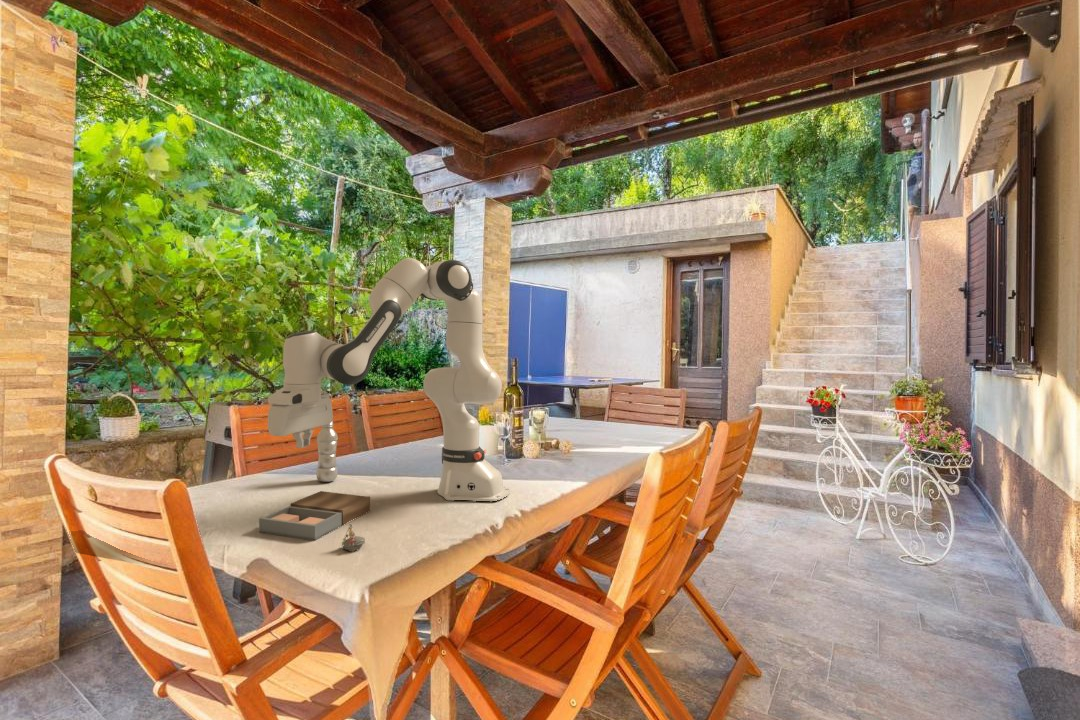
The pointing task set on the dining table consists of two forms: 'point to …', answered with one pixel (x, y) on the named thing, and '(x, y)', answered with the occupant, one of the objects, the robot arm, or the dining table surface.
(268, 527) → the box
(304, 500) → the brown wooden platform
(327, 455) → the plastic bottle
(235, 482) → the dining table surface
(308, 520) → the tile
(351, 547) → the figurine
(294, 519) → the tile
